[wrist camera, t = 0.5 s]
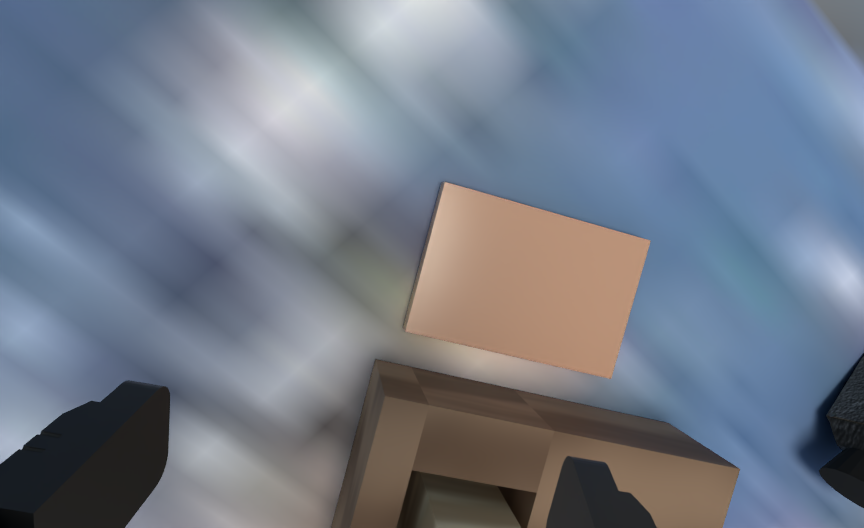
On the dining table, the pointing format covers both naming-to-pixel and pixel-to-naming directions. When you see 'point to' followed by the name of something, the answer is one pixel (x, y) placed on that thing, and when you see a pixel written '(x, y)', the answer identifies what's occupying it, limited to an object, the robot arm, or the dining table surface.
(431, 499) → the maple key
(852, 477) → the hammer
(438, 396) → the walnut toolbox
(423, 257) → the terracotta tile
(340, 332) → the dining table surface
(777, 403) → the dining table surface
